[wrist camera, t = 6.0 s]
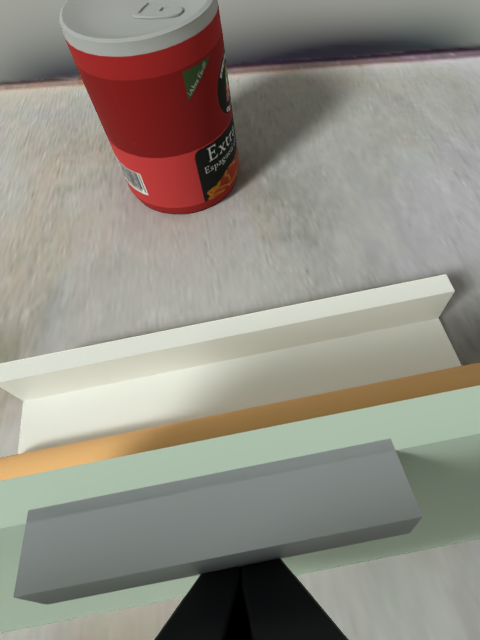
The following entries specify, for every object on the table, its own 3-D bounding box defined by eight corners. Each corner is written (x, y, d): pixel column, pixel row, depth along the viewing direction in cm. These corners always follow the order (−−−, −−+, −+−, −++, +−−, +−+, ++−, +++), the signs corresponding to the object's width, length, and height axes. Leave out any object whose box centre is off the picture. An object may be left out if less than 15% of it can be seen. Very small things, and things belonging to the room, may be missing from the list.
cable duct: (523, 505, 17) (563, 495, 15) (8, 606, 18) (-41, 614, 15) (428, 307, 22) (446, 274, 20) (30, 386, 23) (-4, 364, 20)
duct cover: (564, 495, 15) (601, 551, 14) (-43, 614, 15) (-58, 680, 14) (839, 313, 7) (976, 407, 6) (-418, 563, 7) (-525, 703, 6)
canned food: (233, 219, 27) (203, 37, 18) (118, 217, 28) (32, 46, 19) (246, 142, 31) (226, -42, 22) (144, 143, 32) (83, -31, 23)
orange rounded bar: (501, 404, 19) (520, 390, 18) (-7, 505, 19) (-33, 500, 18) (483, 368, 20) (499, 352, 18) (-2, 465, 20) (-26, 457, 19)
